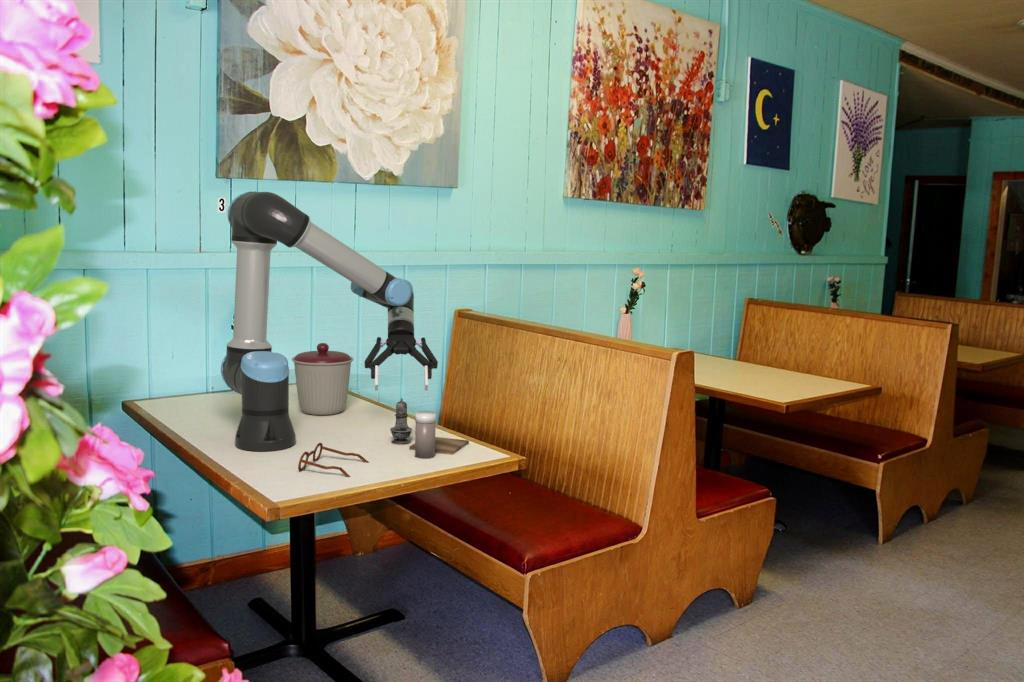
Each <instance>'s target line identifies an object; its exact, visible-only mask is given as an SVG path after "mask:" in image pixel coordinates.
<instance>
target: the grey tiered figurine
mask: <svg viewBox="0 0 1024 682" xmlns="http://www.w3.org/2000/svg"><path fill="white" fill-rule="evenodd" d="M408 416H409V414H408V403H407V402H405V401H404V399H403V398H402V397H401V398H400V400H399V401H398V402H396V405H395V414H394V417H395V424H394V426H393V427H390V429H389V430H390V433H391V436H392V437H393V438H394V439H392V440H390V441H391V444H393V445H398V446H401V445H402V446H403V445H409V444H411V443H412V441H411V440H410V439H408V438H410V436H411V434H412V431H413V428H412V427H410V426H409V424H408Z"/></svg>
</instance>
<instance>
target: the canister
mask: <svg viewBox="0 0 1024 682" xmlns="http://www.w3.org/2000/svg"><path fill="white" fill-rule="evenodd" d="M329 347H330V346H329V345H328V343H325V342H320V343H318V344H317V345H316V349H317V350H310V351H309V350H308V351H304V352H303V351H302V352H300V353H297V354H296V355H295V356H293V357H292V358H291V362H293V365H294V374H295V382H296V385H295V386H296V392H297V397H298V398H297V399H298V406H299V408H300V409H301V411H302V412H304V413H305V414H308V415H312V416H331V415H337V414H338V413H339V414H340V413H341V412H343V410H344V409H345V407H346V405H347V399H348V394H349V393H348V392H349V385H350V383H349V382H350V375H351V368H352V362H353V361H354V357H352V356H350V355H349V354H348V353H345V352H341V351H337V350H329V349H330V348H329Z"/></svg>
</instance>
